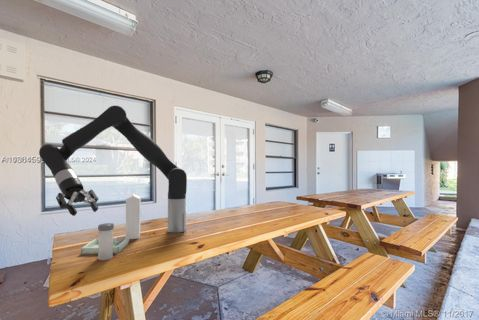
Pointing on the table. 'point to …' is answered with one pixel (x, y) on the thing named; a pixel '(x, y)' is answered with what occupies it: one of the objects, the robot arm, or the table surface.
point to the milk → (133, 216)
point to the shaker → (105, 241)
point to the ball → (118, 240)
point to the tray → (94, 245)
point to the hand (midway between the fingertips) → (86, 212)
